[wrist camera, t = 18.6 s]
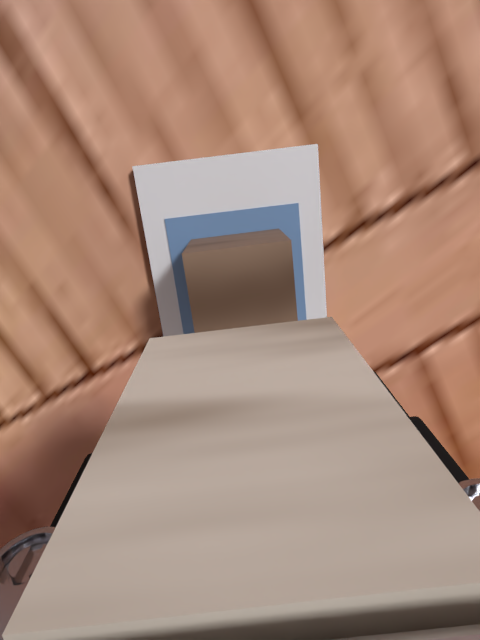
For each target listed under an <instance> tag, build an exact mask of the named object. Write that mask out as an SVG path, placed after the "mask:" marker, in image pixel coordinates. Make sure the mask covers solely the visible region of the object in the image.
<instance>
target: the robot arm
mask: <svg viewBox="0 0 480 640" xmlns="http://www.w3.org/2000/svg"><path fill="white" fill-rule="evenodd" d="M373 372H374V371H373ZM374 373H375V374H376V372H374ZM376 376H377V377H378V378H379V376H378V375H377V374H376ZM379 380H380V381H381V382H382V380H381V379H380V378H379ZM382 384H383V385H384V386H385V388H386V389H387V390H388V392H389V393H390V394H391V396H392V397H393V398H394V399H395V397H394V396H393V395H392V393H391V392H390V391H389V389H388V388H387V387H386V385H385V384H384V383H383V382H382ZM395 401H396V402H397V403H398V405H399V406H400V407H401V409H402V410H403V411H404V413H405V414H406V415H407V417H408V418H409V419H410V420H411V422H412V423H413V424H414V426H415V427H416V428H417V430H418V431H419V432H420V434H421V435H422V436H423V438H424V439H425V440H426V442H427V443H428V444H429V445H430V447H431V448H432V449H433V451H434V452H435V453H436V455H437V456H438V457H439V459H440V460H441V461H442V463H443V464H444V465H445V467H446V468H447V469H448V470H449V472H450V473H451V474H452V476H453V477H454V478H455V480H456V481H457V482H458V484H459V485H460V486H461V488H462V489H463V490H464V492H465V493H466V494H467V495H468V497H469V498H470V499H471V501H472V502H473V503H474V505H475V506H476V507H477V509H478V510H479V511H480V479H469V478H468V477H467V476H466V475H465V473H464V472H463V471H462V470H461V468H460V467H459V466H458V465H457V463H456V462H455V461H454V460H453V458H452V457H451V456H450V455H449V453H448V452H447V451H446V450H445V449H444V447H443V446H442V445H441V444H440V442H439V441H438V440H437V439H436V437H435V436H434V435H433V434H432V432H431V431H430V430H429V429H428V427H427V426H426V425H425V424H424V422H423V421H422V420H421V419H420V418H419V417H409V416H408V414H407V413H406V412H405V410H404V409H403V408H402V406H401V405H400V404H399V402H398V401H397V400H396V399H395ZM91 455H92V453H91V454H89V455H87V457H86V458H85V460H84V462H83V464H82V466H81V468H80V470H79V472H78V473H77V475H76V477H75V479H74V481H73V483H72V485H71V487H70V489H69V491H68V493H67V495H66V497H65V499H64V501H63V503H62V505H61V507H60V509H59V511H58V512H57V514H56V516H55V518H54V520H53V522H52V524H51V526H50V527H42V528H37V529H33V530H31V531H28V532H26V533H23V534H21V535H19V536H18V537H16V538H14V539H13V540H11V541H10V542H8V543H7V544H6V545H5V546H4V547H2V548H1V549H0V640H4V639H3V637H2V634H3V632H4V630H5V628H6V626H7V624H8V622H9V620H10V618H11V616H12V614H13V612H14V610H15V608H16V606H17V604H18V602H19V600H20V598H21V596H22V594H23V592H24V590H25V588H26V586H27V584H28V582H29V580H30V578H31V576H32V574H33V572H34V570H35V568H36V566H37V564H38V562H39V560H40V558H41V556H42V554H43V552H44V550H45V548H46V546H47V544H48V542H49V540H50V538H51V536H52V534H53V532H54V530H55V528H56V526H57V524H58V522H59V520H60V518H61V516H62V514H63V512H64V510H65V508H66V506H67V504H68V502H69V500H70V498H71V496H72V494H73V492H74V489H75V487H76V485H77V483H78V481H79V479H80V477H81V475H82V473H83V471H84V469H85V467H86V465H87V463H88V461H89V459H90V457H91ZM331 640H480V624H476V625H466V626H457V627H447V628H437V629H427V630H418V631H408V632H398V633H388V634H379V635H369V636H359V637H350V638H340V639H331Z"/></svg>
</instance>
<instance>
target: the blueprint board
mask: <svg viewBox="0 0 480 640" xmlns="http://www.w3.org/2000/svg"><path fill="white" fill-rule="evenodd" d="M132 167H133V172H134V178H135V183H136V189H137V194H138V200H139V205H140V211H141V216H142V222H143V227H144V233H145V238H146V244H147V249H148V255H149V260H150V266H151V271H152V277H153V282H154V288H155V293H156V299H157V304H158V309H159V315H160V320H161V326H162V331H163V337H165V336H173V335H182V334H190V333H195V332H194V326H193V320H192V314H191V308H190V302H189V295H188V289H187V283H186V277H185V271H184V265H183V259H182V253H183V251H184V250H185V248H186V246H187V245H188V243H189V242H190V240H191V239H198V238H207V237H215V236H223V235H231V234H239V233H247V232H255V231H263V230H271V229H280V230H281V231H282V232H283V233H284V234H285V235H286V236H287V237H288V238H289V239H290V240H291V243H292V255H293V268H294V280H295V292H296V304H297V317H298V321H300V320H309V319H317V318H326V317H327V310H326V292H325V273H324V254H323V235H322V216H321V197H320V178H319V159H318V144H313V145H305V146H296V147H288V148H280V149H272V150H263V151H255V152H247V153H239V154H230V155H222V156H214V157H206V158H198V159H189V160H181V161H173V162H165V163H156V164H148V165H140V166H132Z"/></svg>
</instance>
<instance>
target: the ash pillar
mask: <svg viewBox="0 0 480 640" xmlns="http://www.w3.org/2000/svg"><path fill="white" fill-rule="evenodd" d="M476 624H480V511H479V510H478V509H477V507H476V506H475V505H474V503H473V502H472V501H471V499H470V498H469V497H468V495H467V494H466V493H465V492H464V490H463V489H462V488H461V486H460V485H459V484H458V482H457V481H456V480H455V478H454V477H453V476H452V474H451V473H450V472H449V470H448V469H447V468H446V467H445V465H444V464H443V463H442V461H441V460H440V459H439V457H438V456H437V455H436V453H435V452H434V451H433V449H432V448H431V447H430V445H429V444H428V443H427V442H426V440H425V439H424V438H423V436H422V435H421V434H420V432H419V431H418V430H417V428H416V427H415V426H414V424H413V423H412V422H411V420H410V419H409V418H408V417H407V415H406V414H405V413H404V411H403V410H402V409H401V407H400V406H399V405H398V403H397V402H396V401H395V399H394V398H393V397H392V396H391V394H390V393H389V392H388V390H387V389H386V388H385V386H384V385H383V384H382V382H381V381H380V380H379V378H378V377H377V376H376V374H375V373H374V372H373V371H372V369H371V368H370V367H369V365H368V364H367V363H366V361H365V360H364V359H363V357H362V356H361V355H360V353H359V352H358V351H357V349H356V348H355V347H354V346H353V344H352V343H351V342H350V340H349V339H348V338H347V336H346V335H345V334H344V332H343V331H342V330H341V328H340V327H339V326H338V324H337V323H336V322H335V321H334V319H333V318H332V317H326V318H317V319H309V320H300V321H292V322H283V323H275V324H266V325H258V326H249V327H241V328H232V329H224V330H215V331H207V332H199V333H190V334H182V335H173V336H165V337H156V338H150V339H149V341H148V343H147V345H146V347H145V349H144V351H143V353H142V355H141V357H140V359H139V361H138V363H137V365H136V367H135V369H134V371H133V373H132V375H131V377H130V379H129V381H128V383H127V385H126V387H125V389H124V391H123V393H122V395H121V397H120V399H119V401H118V403H117V405H116V407H115V409H114V411H113V413H112V415H111V417H110V419H109V421H108V423H107V425H106V427H105V429H104V431H103V433H102V435H101V437H100V439H99V441H98V443H97V445H96V447H95V449H94V451H93V453H92V455H91V457H90V459H89V461H88V463H87V465H86V467H85V469H84V471H83V473H82V475H81V477H80V479H79V481H78V483H77V485H76V487H75V489H74V492H73V494H72V496H71V498H70V500H69V502H68V504H67V506H66V508H65V510H64V512H63V514H62V516H61V518H60V520H59V522H58V524H57V526H56V528H55V530H54V532H53V534H52V536H51V538H50V540H49V542H48V544H47V546H46V548H45V550H44V552H43V554H42V556H41V558H40V560H39V562H38V564H37V566H36V568H35V570H34V572H33V574H32V576H31V578H30V580H29V582H28V584H27V586H26V588H25V590H24V592H23V594H22V596H21V598H20V600H19V602H18V604H17V606H16V608H15V610H14V612H13V614H12V616H11V618H10V620H9V622H8V624H7V626H6V628H5V630H4V632H3V634H2V637H3V639H4V640H331V639H340V638H350V637H359V636H369V635H379V634H388V633H398V632H408V631H418V630H427V629H437V628H447V627H457V626H466V625H476Z"/></svg>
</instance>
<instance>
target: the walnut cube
mask: <svg viewBox="0 0 480 640" xmlns="http://www.w3.org/2000/svg"><path fill="white" fill-rule="evenodd" d="M182 259H183V265H184V271H185V277H186V283H187V289H188V295H189V302H190V308H191V314H192V320H193V326H194V332H195V333H199V332H207V331H215V330H224V329H232V328H241V327H249V326H258V325H266V324H275V323H283V322H292V321H298V317H297V304H296V292H295V280H294V268H293V255H292V243H291V240H290V239H289V238H288V237H287V236H286V235H285V234H284V233H283V232H282V231H281V230H280V229H271V230H263V231H255V232H247V233H239V234H231V235H223V236H215V237H207V238H198V239H191V240H190V242H189V243H188V245H187V246H186V248H185V250H184V251H183V253H182Z"/></svg>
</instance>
